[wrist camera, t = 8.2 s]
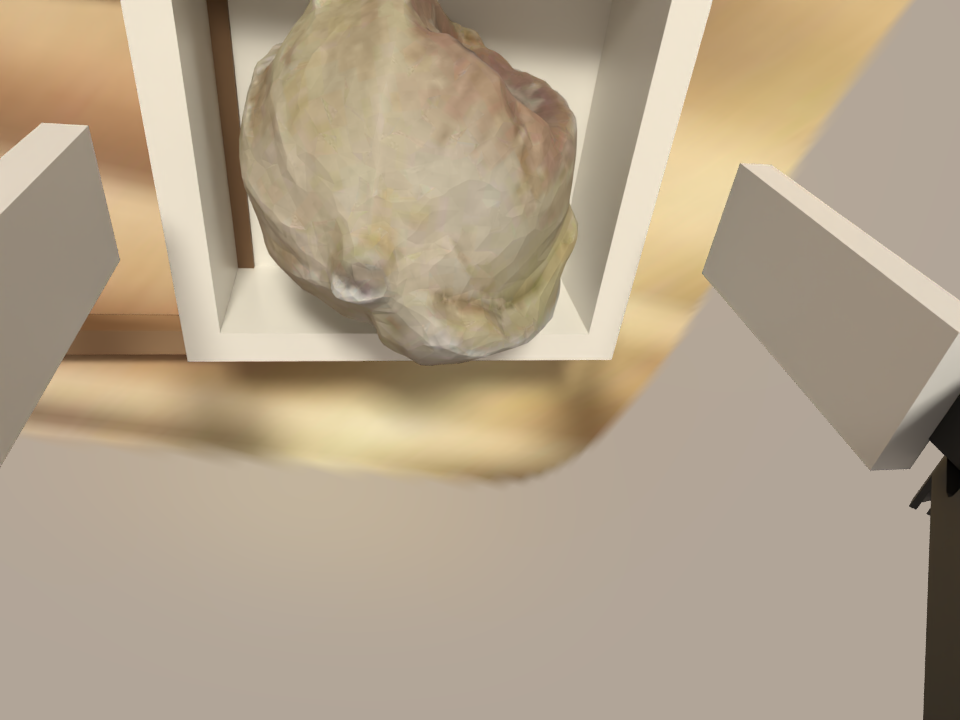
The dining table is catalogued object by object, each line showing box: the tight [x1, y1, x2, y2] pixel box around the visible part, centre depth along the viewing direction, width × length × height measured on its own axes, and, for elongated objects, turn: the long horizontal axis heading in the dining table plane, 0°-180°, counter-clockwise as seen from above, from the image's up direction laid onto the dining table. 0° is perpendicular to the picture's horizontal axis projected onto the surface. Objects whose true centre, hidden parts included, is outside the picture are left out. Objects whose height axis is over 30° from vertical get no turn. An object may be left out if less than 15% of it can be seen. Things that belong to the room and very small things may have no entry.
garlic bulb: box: [239, 0, 578, 365], centre depth 17 cm, size 9×8×10 cm
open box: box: [120, 0, 713, 362], centre depth 18 cm, size 13×13×5 cm
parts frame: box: [66, 0, 255, 355], centre depth 19 cm, size 12×13×1 cm
